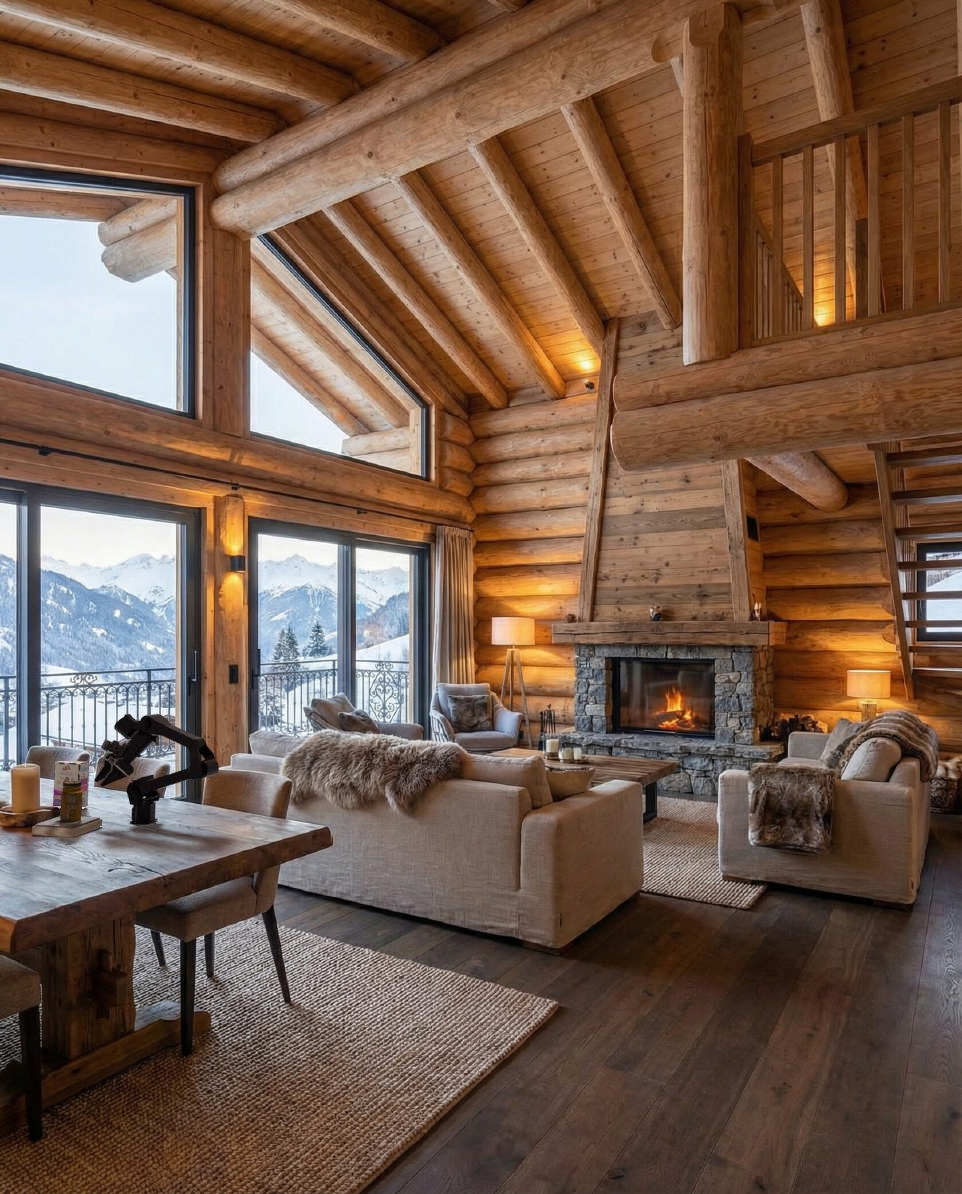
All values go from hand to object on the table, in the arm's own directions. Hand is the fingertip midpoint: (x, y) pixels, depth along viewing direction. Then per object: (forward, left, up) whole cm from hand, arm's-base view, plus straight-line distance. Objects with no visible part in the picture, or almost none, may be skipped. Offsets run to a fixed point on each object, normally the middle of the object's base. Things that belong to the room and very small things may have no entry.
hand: (98, 783), depth 262 cm
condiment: (+4, +7, -11) cm, 14 cm away
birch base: (+5, +7, -14) cm, 16 cm away
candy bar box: (+25, -22, -14) cm, 36 cm away
